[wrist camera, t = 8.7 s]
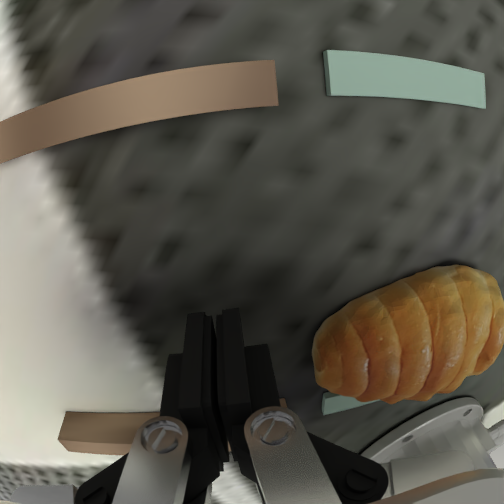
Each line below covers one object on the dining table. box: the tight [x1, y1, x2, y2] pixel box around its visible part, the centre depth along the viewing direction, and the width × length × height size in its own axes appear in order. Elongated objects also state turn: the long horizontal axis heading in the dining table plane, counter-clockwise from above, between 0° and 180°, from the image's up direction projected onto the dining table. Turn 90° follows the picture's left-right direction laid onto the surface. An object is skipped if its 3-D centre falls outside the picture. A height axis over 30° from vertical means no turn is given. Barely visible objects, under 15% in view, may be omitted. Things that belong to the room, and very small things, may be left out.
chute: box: [0, 60, 287, 455], centre depth 11 cm, size 12×15×2 cm
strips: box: [322, 50, 486, 415], centre depth 12 cm, size 7×16×1 cm, turn 5°
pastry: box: [312, 264, 504, 404], centre depth 12 cm, size 9×7×4 cm
